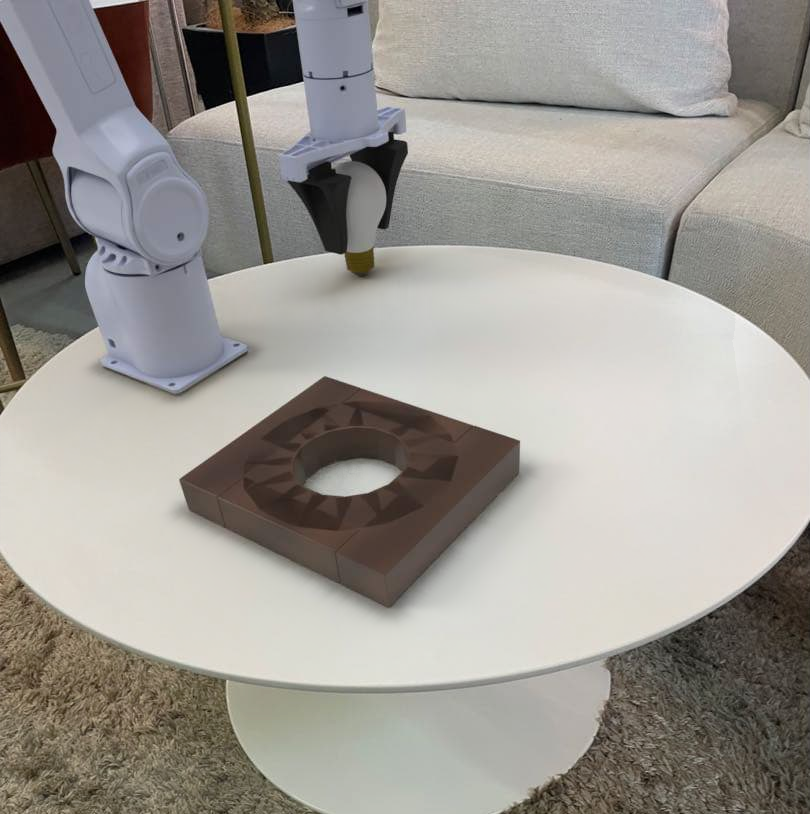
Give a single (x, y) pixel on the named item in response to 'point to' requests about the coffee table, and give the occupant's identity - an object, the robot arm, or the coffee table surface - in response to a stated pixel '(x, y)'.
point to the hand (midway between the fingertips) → (357, 239)
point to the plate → (364, 513)
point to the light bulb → (362, 214)
